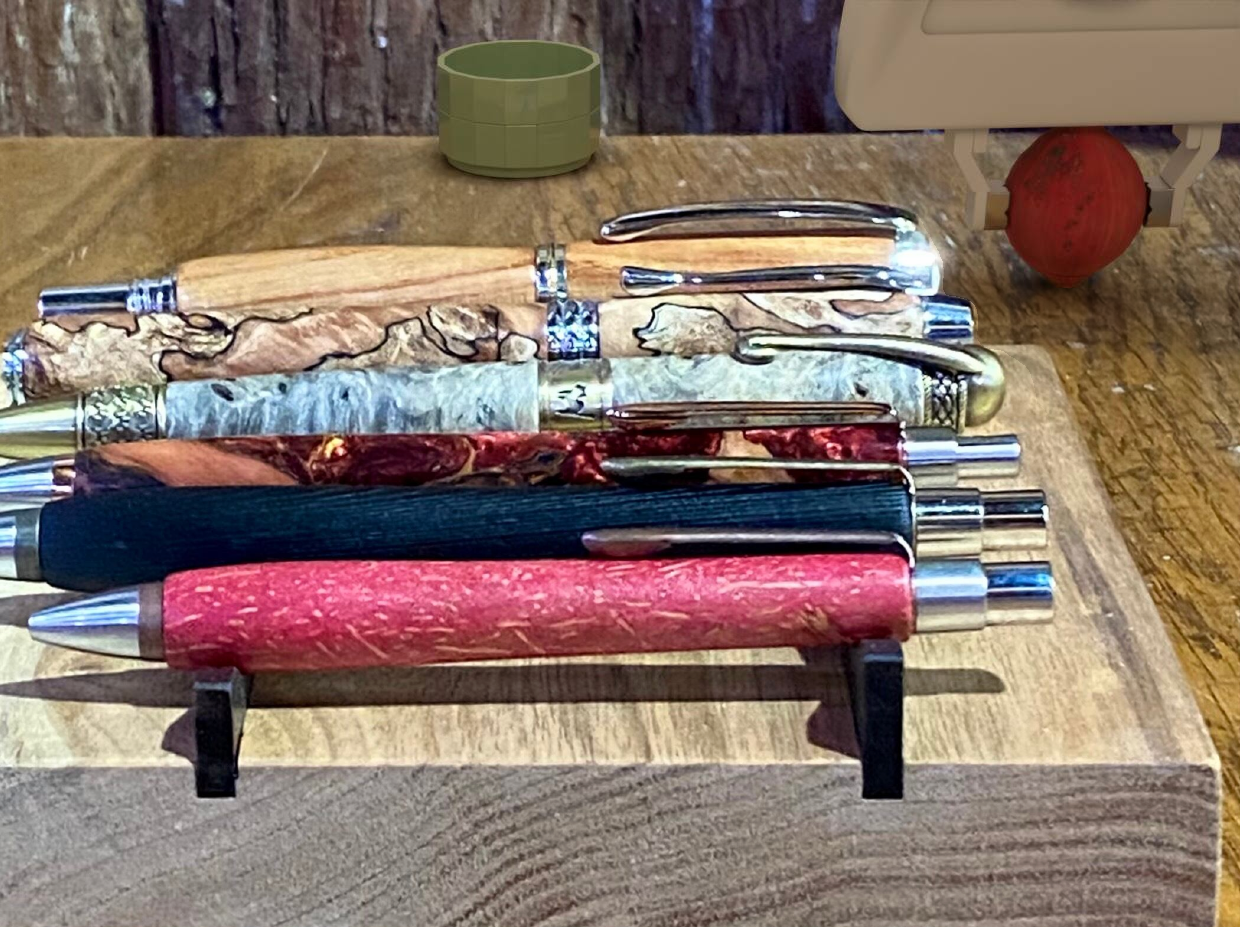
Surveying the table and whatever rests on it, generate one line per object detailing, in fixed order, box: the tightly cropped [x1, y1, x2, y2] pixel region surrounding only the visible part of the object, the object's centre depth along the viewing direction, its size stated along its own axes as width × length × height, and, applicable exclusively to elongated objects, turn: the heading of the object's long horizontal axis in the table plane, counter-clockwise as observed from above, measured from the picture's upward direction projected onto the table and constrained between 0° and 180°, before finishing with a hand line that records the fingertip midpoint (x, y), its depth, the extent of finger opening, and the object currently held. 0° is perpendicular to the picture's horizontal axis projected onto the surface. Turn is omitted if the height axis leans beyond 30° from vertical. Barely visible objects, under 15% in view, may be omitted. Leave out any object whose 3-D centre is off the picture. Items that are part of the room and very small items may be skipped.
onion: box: [1004, 126, 1147, 289], centre depth 95 cm, size 6×6×8 cm
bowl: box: [437, 39, 601, 179], centre depth 114 cm, size 8×8×5 cm
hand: (1070, 225), depth 95 cm, fingers closed on onion, 6 cm apart
